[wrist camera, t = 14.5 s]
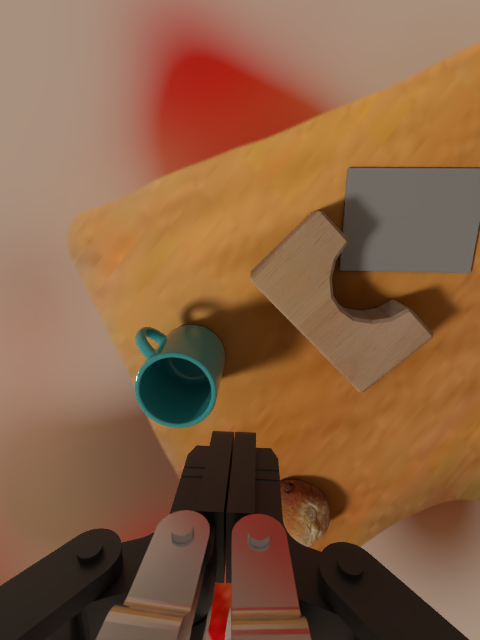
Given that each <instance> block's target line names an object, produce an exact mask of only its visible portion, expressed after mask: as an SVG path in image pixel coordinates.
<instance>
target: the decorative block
mask: <svg viewBox="0 0 480 640" xmlns="http://www.w3.org/2000/svg"><path fill="white" fill-rule="evenodd" d="M347 244H348V238H347V237H346V236H345V235H344V234H343V232H342V231H341V230H340V229H339V228H338V227H337V226H336V225H335V224H334V222H333V221H332V220H331V219H330V218H329V217H328V216H327V215H326V214H325V212H324V211H315V212H312V213H311V214H310V215H309V216H308V217H306V218H305V219H304V220H303V221H302V222H301V223H300V224H299V225H298V226H297V227H296V228H295V229H294V230H293V231H292V232H291V233H290V234H289V235H288V236H287V237H286V238H285V239H284V240H283V241H282V242H281V243H280V244H279V245H278V246H277V247H276V248H275V249H274V250H273V251H272V252H271V253H270V254H269V255H268V256H266V257H265V258H264V259H263V260H262V261H261V262H260V263H259V264H258V265H257V266H256V267H255V268H254V269H253V270H252V271H251V279H250V281H251V282H252V283H253V284H254V285H255V286H256V287H257V288H258V289H259V290H260V291H261V292H262V293H263V294H264V295H265V296H266V297H267V299H268V300H269V301H270V302H271V303H272V304H273V305H274V306H275V307H276V308H277V309H278V310H279V311H280V312H281V313H282V314H283V315H284V316H285V317H286V318H287V319H288V320H289V321H290V322H291V323H292V324H293V325H294V326H295V327H296V328H297V329H298V330H299V331H300V332H301V333H302V334H303V335H304V336H305V337H306V338H307V339H308V340H309V341H310V342H311V343H312V344H313V345H314V346H315V347H316V348H317V350H318V351H319V352H320V353H321V354H322V355H323V356H324V357H325V358H326V359H327V360H328V361H329V362H330V363H331V364H332V365H333V366H334V367H335V368H336V369H337V370H338V371H339V372H340V373H341V374H342V375H343V376H344V377H345V378H346V379H347V380H348V381H349V382H350V383H351V384H352V385H353V386H354V387H355V388H356V389H357V390H358V391H359V392H364V391H366V390H367V389H368V388H369V387H371V386H372V385H373V384H374V383H376V382H377V381H378V380H379V379H381V378H382V377H383V376H384V375H386V374H387V373H388V372H390V371H391V370H392V369H393V368H395V367H396V366H397V365H398V364H400V363H401V362H402V361H403V360H405V359H406V358H407V357H409V356H410V355H411V354H412V353H414V352H415V351H416V350H417V349H419V348H420V347H421V346H423V345H424V344H425V343H426V342H428V341H429V340H430V339H431V338H432V337H433V333H432V332H431V331H430V330H429V328H428V327H427V326H426V325H425V324H424V323H423V322H422V321H421V320H420V318H419V317H418V316H417V315H416V314H415V313H414V312H413V311H412V309H410V308H408V307H407V306H405V305H403V304H401V303H400V302H398V301H396V300H390V301H388V302H387V303H385V304H383V305H381V306H379V307H378V308H374V309H367V310H355V309H349V308H344V307H342V306H341V305H340V304H338V302H337V301H336V299H335V298H334V296H333V285H332V275H333V271H334V267H335V263H336V259H337V258H338V256H339V255H340V254H341V252H342V251H343V250H344V248H345V247H346V245H347Z"/></svg>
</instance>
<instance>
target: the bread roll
mask: <svg viewBox="0 0 480 640" xmlns="http://www.w3.org/2000/svg"><path fill="white" fill-rule="evenodd" d="M280 490H281V502H282V514H283V523H284V526H285V528H286V530H287V532H288V533H289V534H290V536H292V537H293V538H294V539H295V540H296V541H297V542H299V543H300V544H302V545H304V546H306V547H309V546H310V545H312V544H313V543H314V542H316V541H318V540H319V539H321V538H322V537H323V536H324V534H325V533H326V531H327V529H328V526H329V522H330V509H329V505H328V502H327V500H326V498H325V497H324V495H323V494H322V492H321V491H320V490H319V489H317V488H316V487H314V486H312V485H310V484H308V483H305V482H303V481H301V480H283V481H280Z"/></svg>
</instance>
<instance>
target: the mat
mask: <svg viewBox="0 0 480 640" xmlns="http://www.w3.org/2000/svg"><path fill="white" fill-rule="evenodd" d="M479 223H480V168H348V171H347V182H346V194H345V206H344V217H343V229H342V232H343V234H344V235H345V236H346V237H347V238H348V244H347V245H346V247H345V248H344V250H343V251H342V252H341V254H340V264H339V270H340V271H393V272H451V273H470V272H471V266H472V261H473V256H474V250H475V245H476V239H477V234H478V229H479Z"/></svg>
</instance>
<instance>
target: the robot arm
mask: <svg viewBox="0 0 480 640" xmlns="http://www.w3.org/2000/svg"><path fill="white" fill-rule="evenodd" d="M225 565H226V583H231V640H469V639H468V638H467V637H465V636H464V635H463V634H462V633H461V632H459V631H458V630H457V629H456V628H455V627H454V626H453V625H451V624H450V623H449V622H448V621H447V620H445V619H444V618H443V617H442V616H441V615H440V614H439V613H438V612H436V611H435V610H434V609H433V608H432V607H431V606H429V605H428V604H427V603H426V602H424V600H422V599H421V598H420V597H419V596H418V595H417V594H416V593H414V592H413V591H412V590H411V589H410V588H409V587H407V586H406V585H405V584H404V583H403V582H402V581H400V580H399V579H398V578H397V577H396V576H395V575H393V574H392V573H391V572H390V571H389V570H388V569H387V568H385V567H384V566H383V565H382V564H381V563H380V562H378V561H377V560H376V559H375V558H374V557H372V555H370V554H369V553H368V552H367V551H365V550H364V549H362V548H361V547H359V546H357V545H354V544H351V543H346V542H337V543H333V544H330V545H328V546H327V547H326V548H324V549H323V551H322V552H320V551H317V550H315V549H312V548H309V547H306V546H304V545H302V544H300V543H299V542H297V541H296V540H295V539H294V538H293V537H292V536H290V534H289V533H288V532H287V530H286V528H285V526H284V523H283V514H282V502H281V490H280V477H279V465H278V458H277V457H276V455H275V454H274V452H273V451H272V449H270V448H256V433H250V432H235V439H234V432H222V431H213V433H212V437H211V442H210V446H196V447H195V448H194V449H193V450H192V451H191V452H190V453H189V454H188V456H187V459H186V463H185V466H184V469H183V472H182V476H181V479H180V482H179V486H178V489H177V493H176V495H175V499H174V502H173V505H172V508H171V512H170V515H168V516H166V517H165V518H164V519H163V520H162V521H161V522H160V523H159V524H158V526H157V528H156V530H155V532H154V533H152V534H150V535H148V536H146V537H143V538H140V539H135V540H131V541H127V542H123V543H121V540H120V538H119V536H118V535H117V534H116V533H115V532H114V531H112V530H109V529H93V530H90V531H87V532H84V533H82V534H80V535H78V536H77V537H75V538H74V539H72V540H71V541H69V542H67V543H66V544H64V545H63V546H61V547H60V548H58V549H57V550H55V551H54V552H52V553H51V554H49V555H48V556H46V557H44V558H43V559H41V560H40V561H38V562H37V563H35V564H33V565H32V566H30V567H29V568H27V569H26V570H24V571H23V572H21V573H20V574H18V575H17V576H15V577H13V578H12V579H10V580H9V581H7V582H6V583H4V584H3V585H1V586H0V640H206V637H207V632H208V627H209V622H210V617H211V605H212V602H213V596H214V588H215V582H218V583H224V575H225Z"/></svg>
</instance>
